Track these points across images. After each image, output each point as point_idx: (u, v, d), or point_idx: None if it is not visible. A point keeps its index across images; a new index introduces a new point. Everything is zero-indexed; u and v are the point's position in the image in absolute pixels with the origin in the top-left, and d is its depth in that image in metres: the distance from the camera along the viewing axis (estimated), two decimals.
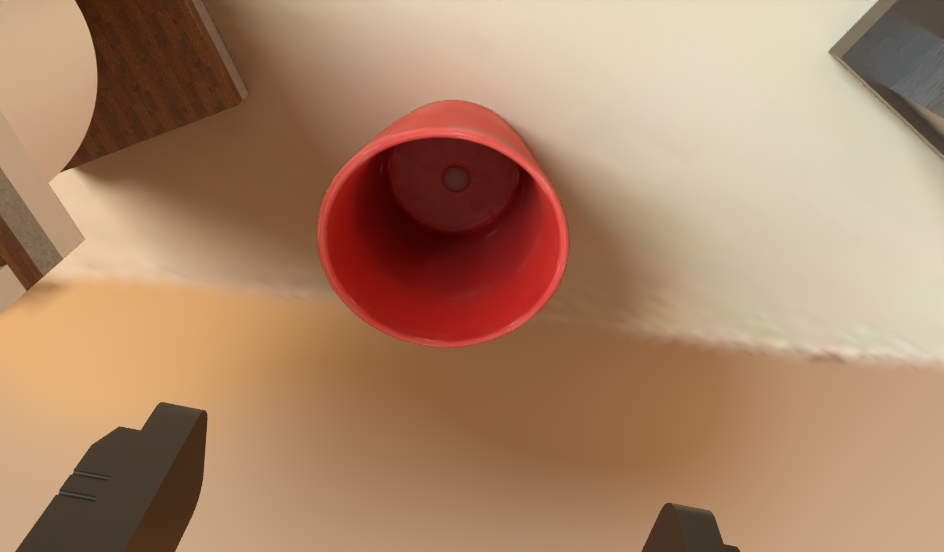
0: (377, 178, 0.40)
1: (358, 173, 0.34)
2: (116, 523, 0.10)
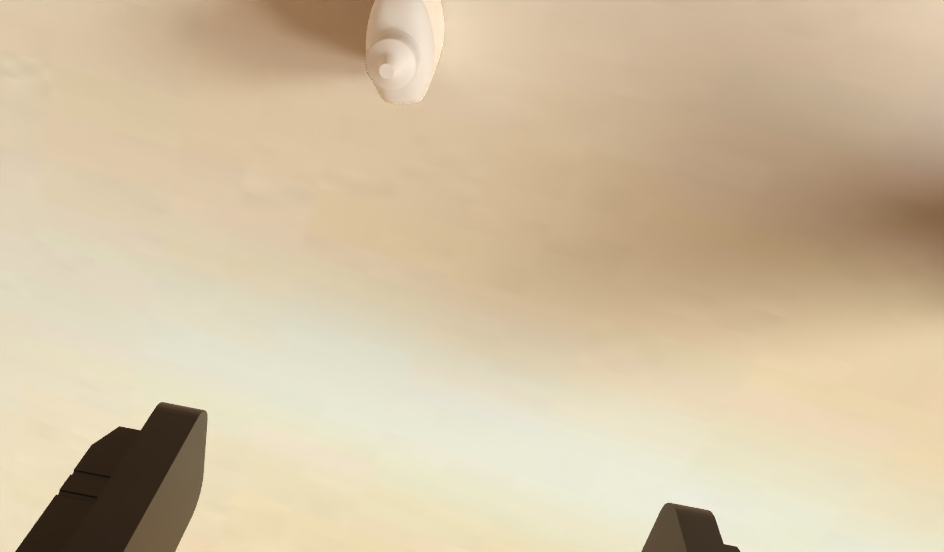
0: None
1: None
2: (116, 523, 0.10)
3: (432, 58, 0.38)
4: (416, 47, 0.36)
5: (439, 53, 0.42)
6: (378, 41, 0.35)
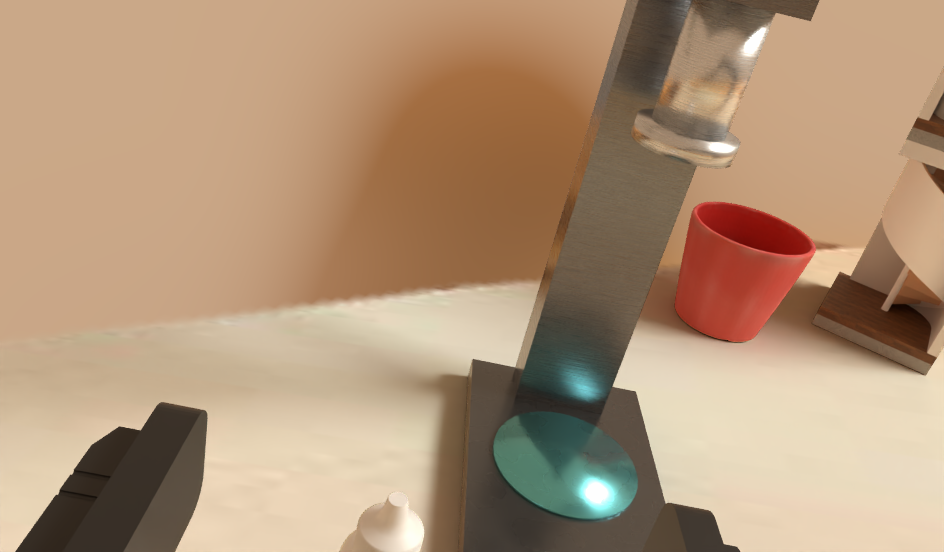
0: None
1: None
2: (116, 523, 0.10)
3: None
4: None
5: None
6: (375, 505, 0.28)
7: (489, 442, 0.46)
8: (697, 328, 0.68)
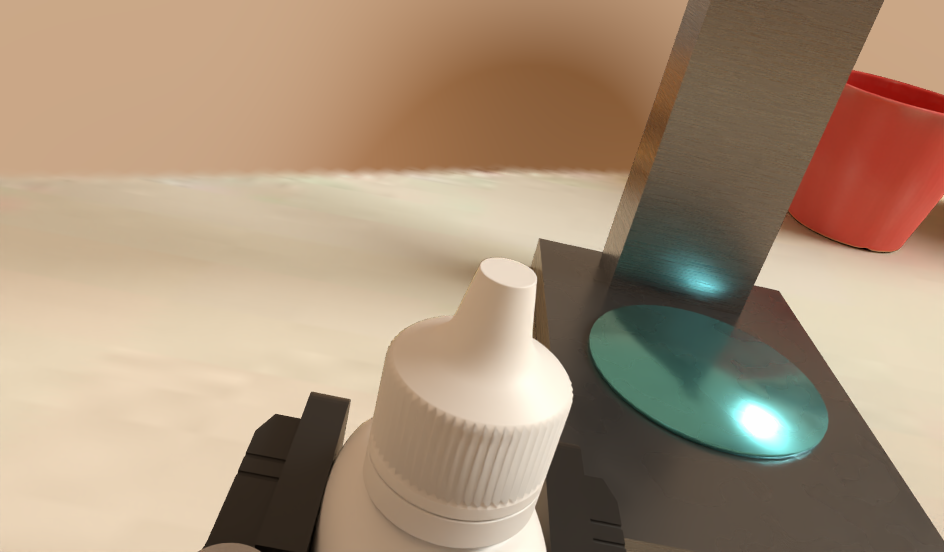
0: None
1: None
2: (301, 499, 0.11)
3: None
4: None
5: None
6: None
7: (581, 340, 0.29)
8: (826, 233, 0.50)
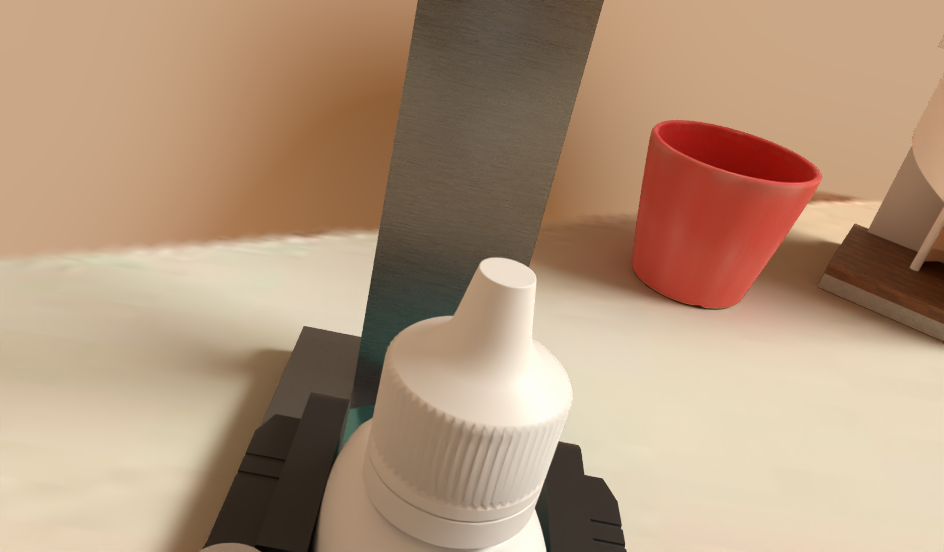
0: None
1: None
2: (301, 499, 0.11)
3: None
4: None
5: None
6: None
7: None
8: (659, 290, 0.50)
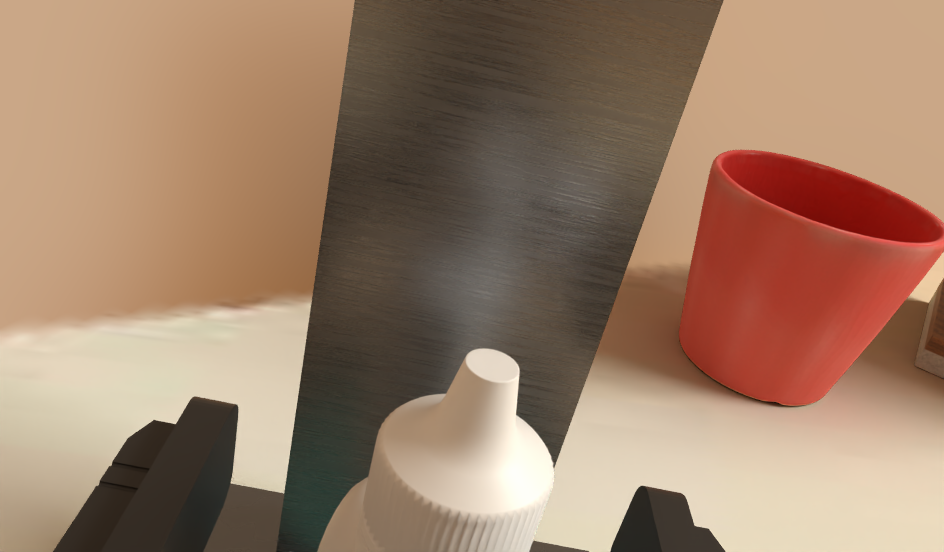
0: None
1: None
2: (157, 512, 0.10)
3: None
4: None
5: None
6: (422, 398, 0.11)
7: None
8: (721, 380, 0.37)
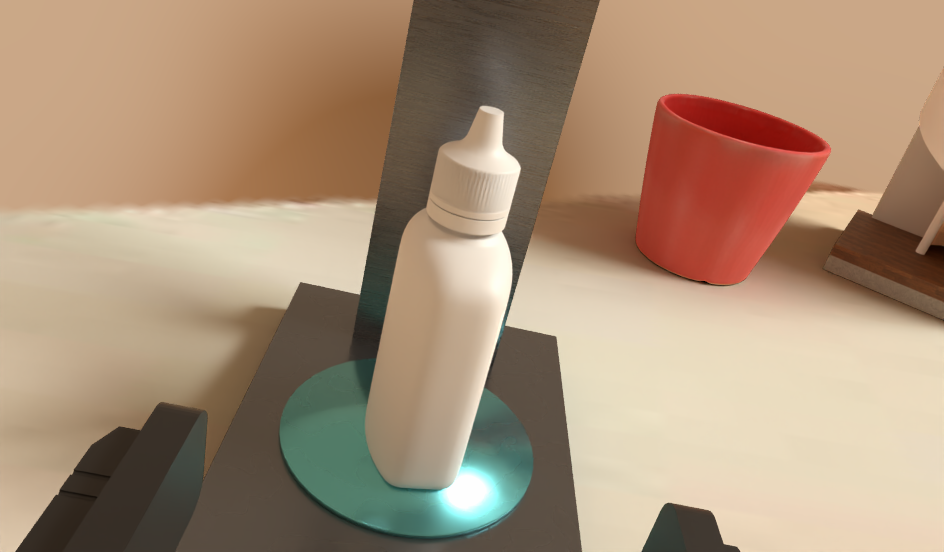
0: None
1: None
2: (116, 523, 0.10)
3: None
4: None
5: None
6: None
7: (280, 402, 0.27)
8: (664, 265, 0.48)
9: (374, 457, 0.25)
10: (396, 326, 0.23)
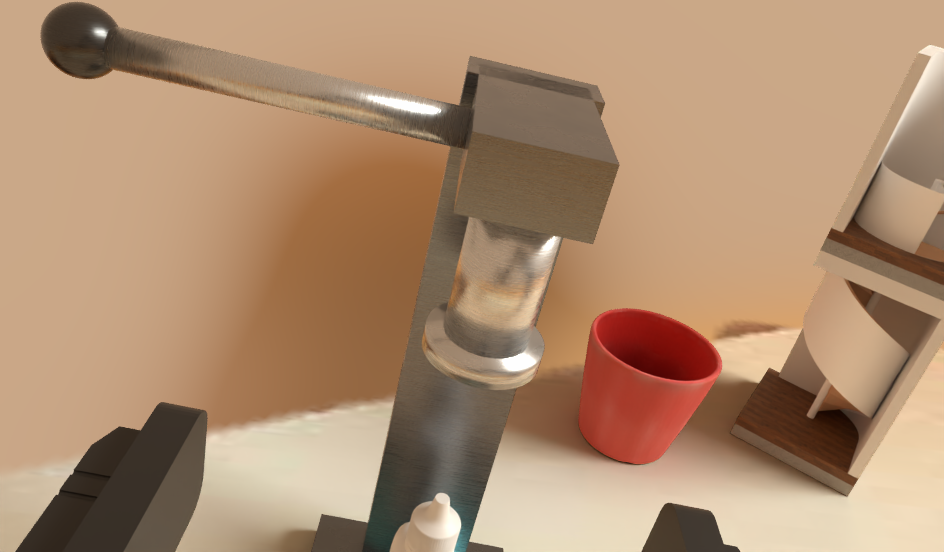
0: None
1: (699, 374, 0.63)
2: (116, 523, 0.10)
3: None
4: None
5: None
6: None
7: None
8: (598, 448, 0.63)
9: None
10: None
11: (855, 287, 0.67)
